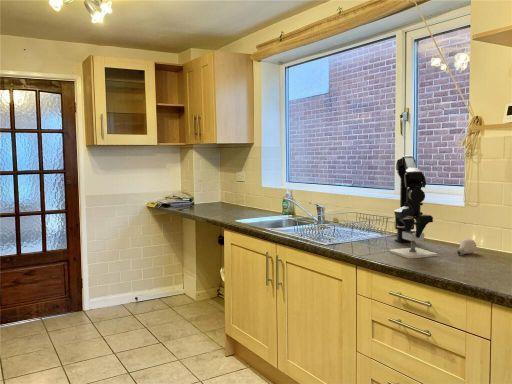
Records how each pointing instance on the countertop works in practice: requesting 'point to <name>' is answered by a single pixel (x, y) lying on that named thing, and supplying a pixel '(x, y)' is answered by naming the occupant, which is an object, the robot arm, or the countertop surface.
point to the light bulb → (467, 247)
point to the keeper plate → (413, 252)
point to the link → (412, 236)
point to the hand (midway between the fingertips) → (413, 236)
